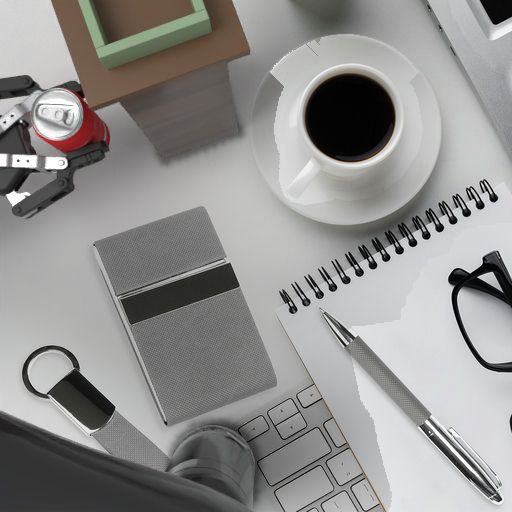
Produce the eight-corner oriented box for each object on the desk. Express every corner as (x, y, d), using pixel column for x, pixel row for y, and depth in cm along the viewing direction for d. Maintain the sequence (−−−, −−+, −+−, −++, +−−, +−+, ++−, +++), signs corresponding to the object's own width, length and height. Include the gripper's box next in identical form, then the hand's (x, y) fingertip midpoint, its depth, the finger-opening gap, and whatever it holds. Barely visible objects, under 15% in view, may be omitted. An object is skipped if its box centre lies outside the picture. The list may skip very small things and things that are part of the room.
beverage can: (106, 168, 72) (79, 148, 60) (58, 158, 72) (21, 136, 60) (116, 121, 72) (91, 91, 60) (69, 111, 72) (34, 79, 60)
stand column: (238, 132, 77) (224, 42, 48) (164, 159, 77) (105, 85, 48) (211, 60, 78) (181, -74, 49) (138, 86, 78) (63, -31, 49)
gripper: (-65, 244, 61) (113, 180, 61) (-115, 96, 61) (61, 33, 62) (-29, 249, 68) (129, 192, 68) (-74, 117, 69) (82, 61, 69)
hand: (96, 117), depth 65 cm, fingers closed on beverage can, 5 cm apart
